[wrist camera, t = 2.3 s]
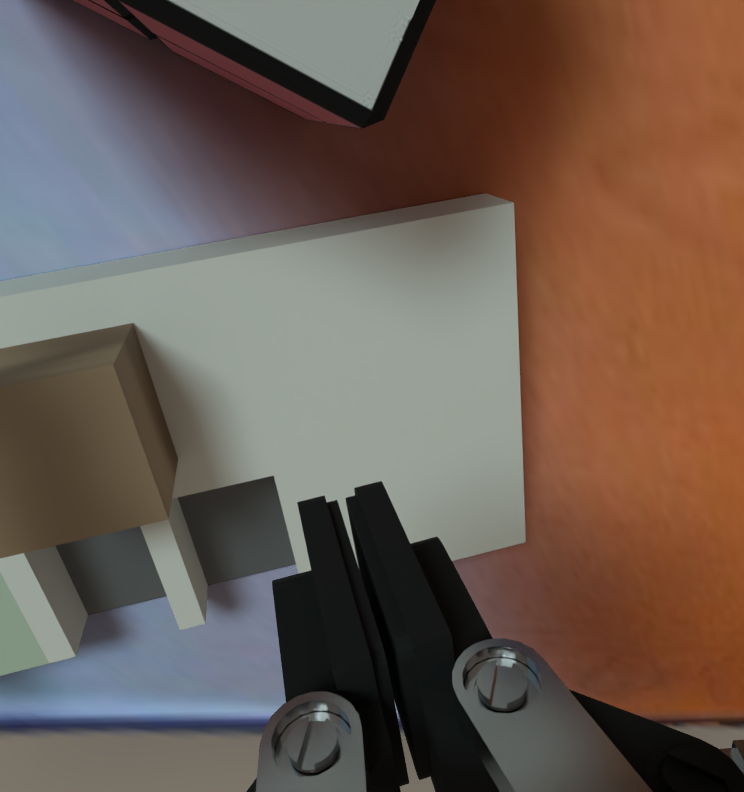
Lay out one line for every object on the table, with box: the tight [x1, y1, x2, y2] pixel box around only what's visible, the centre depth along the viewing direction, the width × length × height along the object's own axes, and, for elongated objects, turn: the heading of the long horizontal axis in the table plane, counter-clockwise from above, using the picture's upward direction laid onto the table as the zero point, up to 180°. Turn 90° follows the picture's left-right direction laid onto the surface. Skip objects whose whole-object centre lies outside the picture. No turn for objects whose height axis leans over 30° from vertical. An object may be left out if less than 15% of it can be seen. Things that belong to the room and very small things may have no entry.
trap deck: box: [0, 193, 526, 676], centre depth 21 cm, size 25×14×6 cm, turn 98°
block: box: [0, 323, 178, 558], centre depth 18 cm, size 5×5×4 cm
